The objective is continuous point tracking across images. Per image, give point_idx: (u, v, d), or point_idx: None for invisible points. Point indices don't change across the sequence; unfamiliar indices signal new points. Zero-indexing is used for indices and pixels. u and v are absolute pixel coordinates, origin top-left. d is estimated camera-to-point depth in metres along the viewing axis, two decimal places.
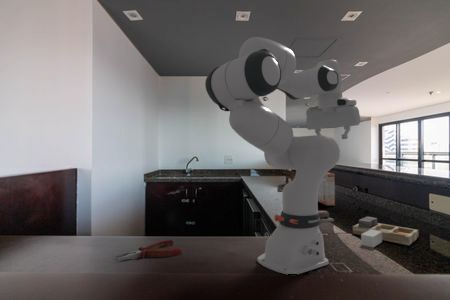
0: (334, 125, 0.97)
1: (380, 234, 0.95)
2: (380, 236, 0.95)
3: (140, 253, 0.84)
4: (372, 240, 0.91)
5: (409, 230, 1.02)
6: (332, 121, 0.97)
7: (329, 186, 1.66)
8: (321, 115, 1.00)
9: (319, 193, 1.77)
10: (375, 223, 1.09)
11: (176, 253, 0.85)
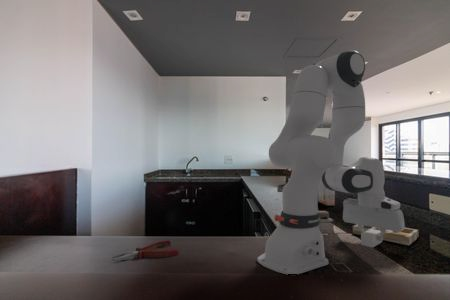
0: (375, 225, 0.92)
1: (380, 233, 0.95)
2: None
3: (137, 254, 0.84)
4: (371, 239, 0.91)
5: (409, 230, 1.02)
6: (373, 221, 0.93)
7: None
8: (361, 211, 0.97)
9: (319, 193, 1.77)
10: None
11: (173, 254, 0.85)
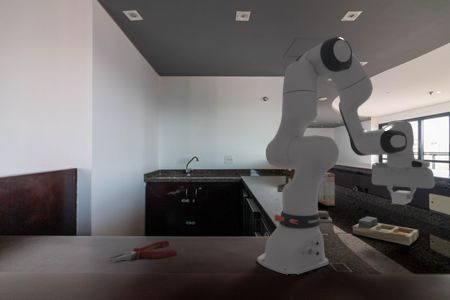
0: (405, 185, 0.97)
1: (409, 193, 1.00)
2: None
3: (135, 254, 0.83)
4: (402, 197, 0.96)
5: (409, 230, 1.02)
6: (403, 180, 0.98)
7: (329, 186, 1.66)
8: (390, 172, 1.01)
9: (319, 193, 1.77)
10: (375, 223, 1.09)
11: (171, 254, 0.84)
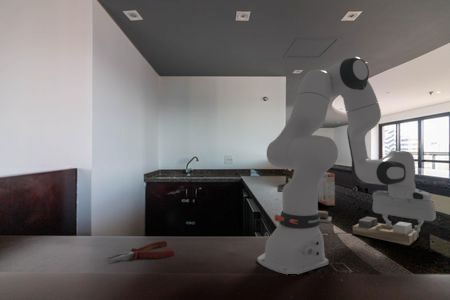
0: (406, 216, 0.97)
1: (410, 226, 1.00)
2: (410, 227, 1.00)
3: (132, 254, 0.83)
4: (404, 231, 0.95)
5: None
6: (404, 211, 0.97)
7: (329, 186, 1.66)
8: (391, 202, 1.01)
9: (319, 193, 1.77)
10: (375, 223, 1.09)
11: (169, 254, 0.84)
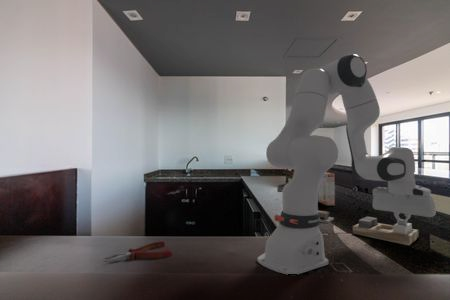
0: (406, 212, 0.97)
1: (410, 226, 1.00)
2: (410, 227, 1.00)
3: (130, 255, 0.83)
4: (404, 231, 0.95)
5: None
6: (404, 207, 0.97)
7: (329, 186, 1.66)
8: (391, 198, 1.01)
9: (319, 193, 1.77)
10: (375, 223, 1.09)
11: (166, 255, 0.84)
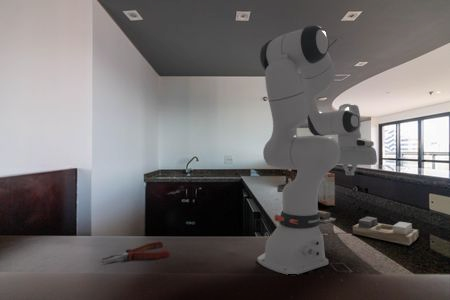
0: (352, 162, 1.07)
1: (410, 226, 1.00)
2: (410, 227, 1.00)
3: (127, 255, 0.82)
4: (404, 231, 0.95)
5: None
6: (350, 159, 1.07)
7: (329, 186, 1.66)
8: (340, 152, 1.11)
9: (319, 193, 1.77)
10: (375, 223, 1.09)
11: (164, 255, 0.83)
